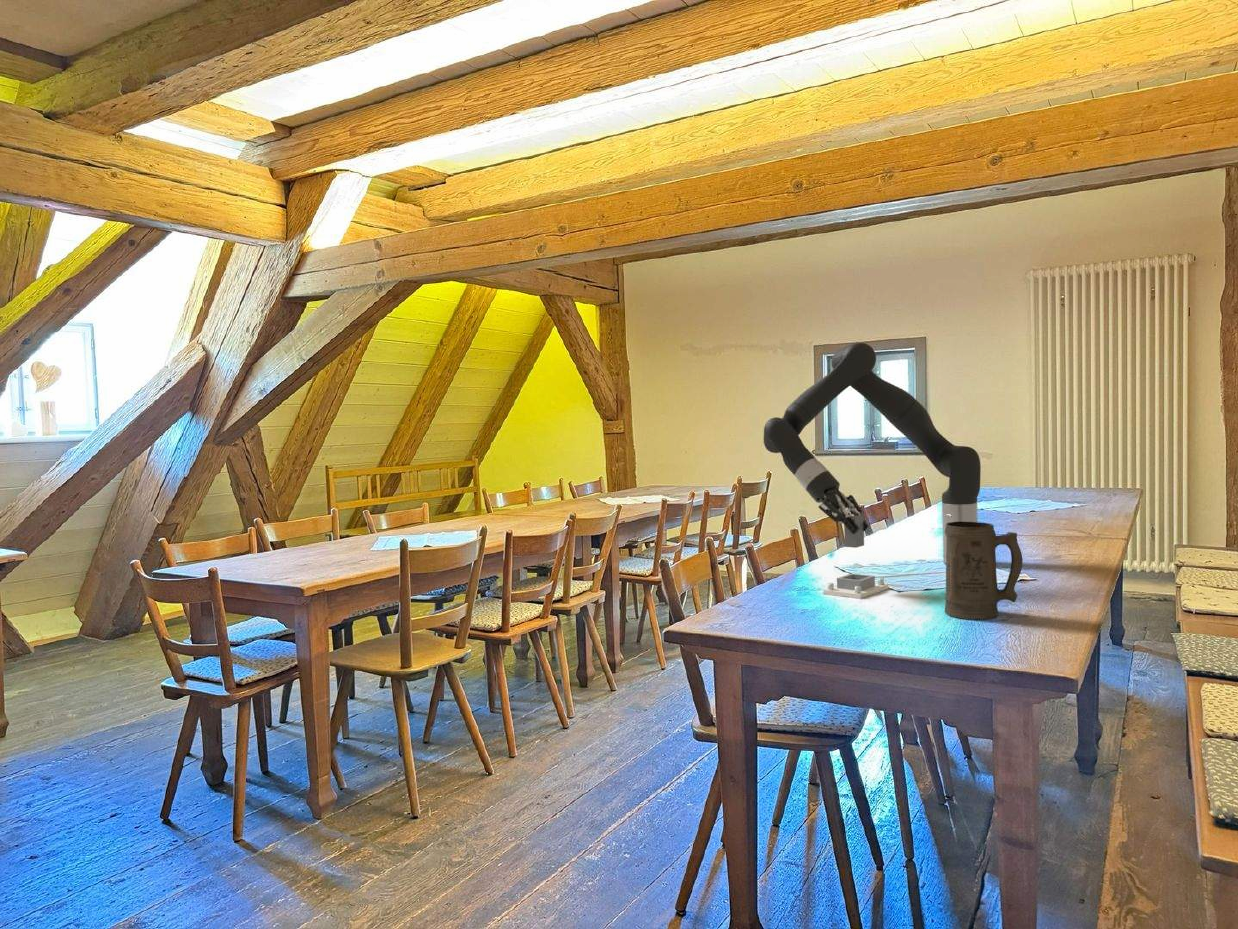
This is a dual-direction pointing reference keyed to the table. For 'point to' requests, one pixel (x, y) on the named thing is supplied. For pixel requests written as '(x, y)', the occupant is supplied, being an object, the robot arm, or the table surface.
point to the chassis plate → (856, 586)
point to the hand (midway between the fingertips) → (861, 530)
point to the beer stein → (977, 570)
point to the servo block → (857, 538)
